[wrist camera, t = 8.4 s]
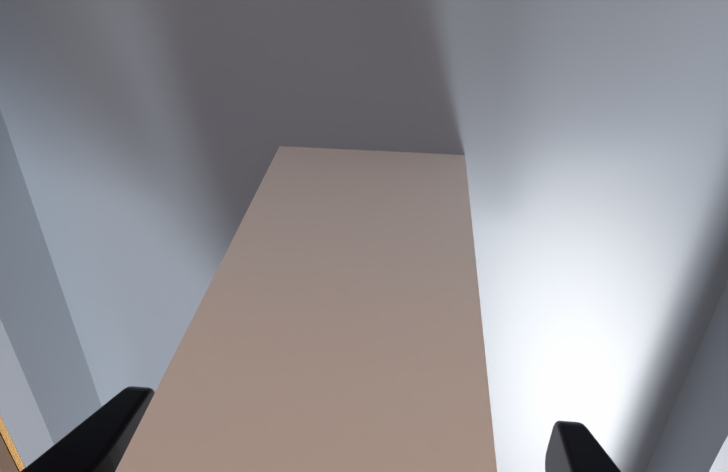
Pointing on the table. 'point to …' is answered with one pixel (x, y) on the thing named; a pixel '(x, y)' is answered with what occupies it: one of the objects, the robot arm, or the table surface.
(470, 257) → the block
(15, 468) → the clip block
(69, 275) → the tray
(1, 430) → the table surface
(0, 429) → the table surface
